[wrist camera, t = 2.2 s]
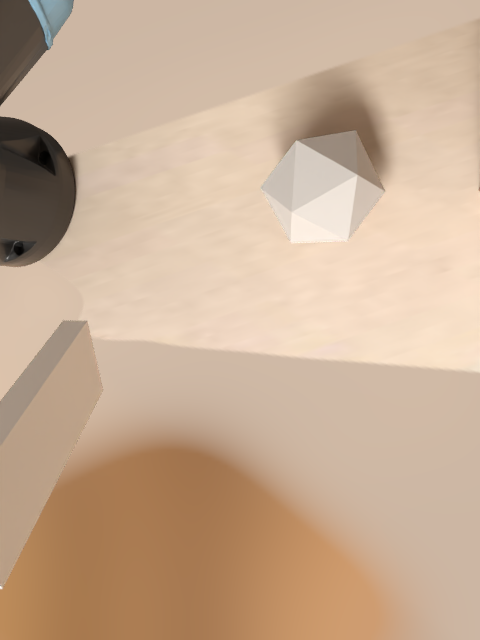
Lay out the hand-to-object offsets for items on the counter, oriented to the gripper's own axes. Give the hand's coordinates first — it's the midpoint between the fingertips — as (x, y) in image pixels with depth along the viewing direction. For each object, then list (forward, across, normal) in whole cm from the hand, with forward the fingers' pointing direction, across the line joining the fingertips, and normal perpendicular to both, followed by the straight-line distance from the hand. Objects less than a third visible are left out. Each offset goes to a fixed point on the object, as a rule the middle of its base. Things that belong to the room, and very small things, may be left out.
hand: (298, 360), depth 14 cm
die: (+28, +4, -3) cm, 28 cm away
